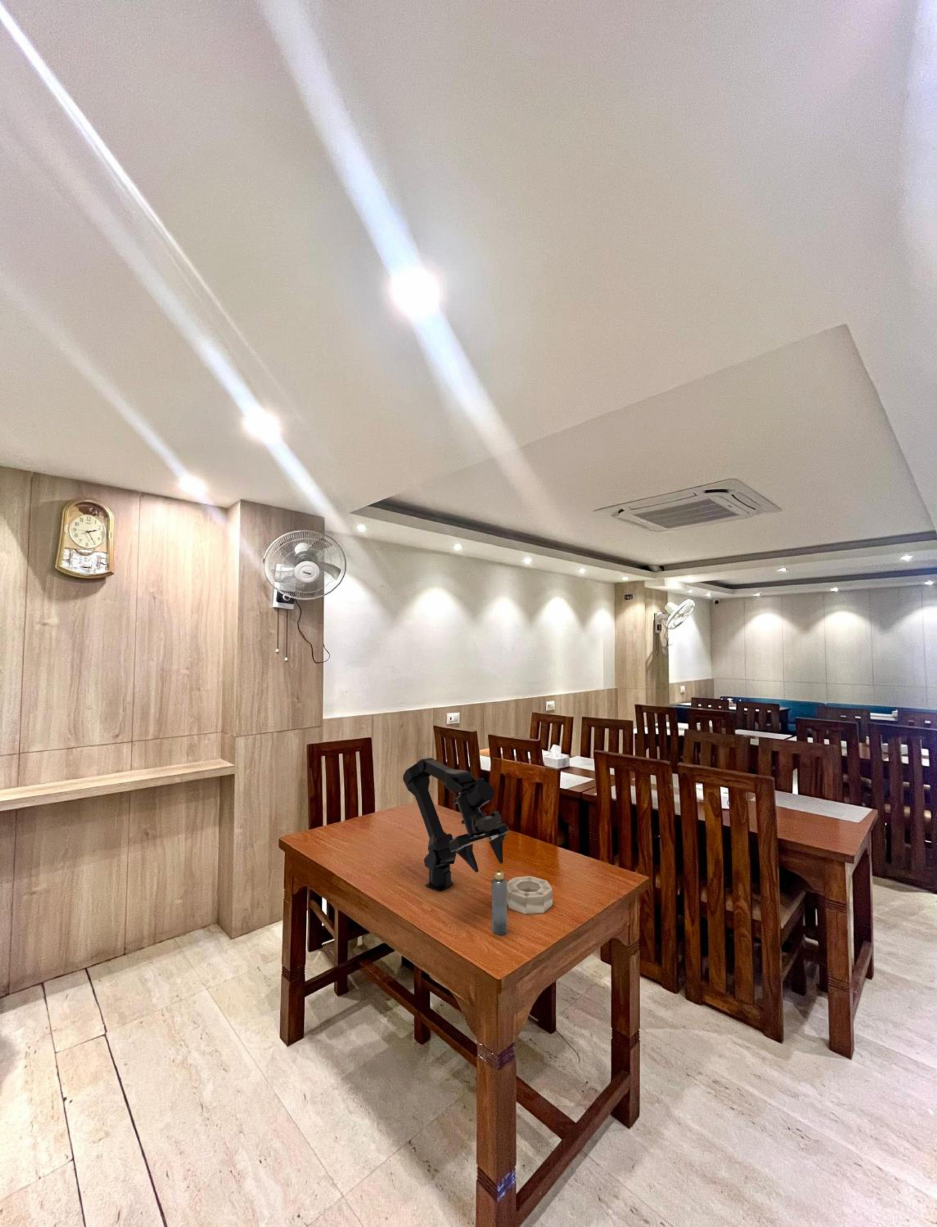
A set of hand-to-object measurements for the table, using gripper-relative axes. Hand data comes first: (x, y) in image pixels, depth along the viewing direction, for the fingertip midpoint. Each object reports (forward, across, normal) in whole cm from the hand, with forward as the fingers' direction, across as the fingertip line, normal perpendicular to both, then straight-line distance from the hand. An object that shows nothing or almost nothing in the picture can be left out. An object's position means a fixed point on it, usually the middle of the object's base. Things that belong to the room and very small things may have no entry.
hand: (489, 867), depth 142 cm
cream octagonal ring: (+12, +14, +6) cm, 19 cm away
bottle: (+15, -3, +1) cm, 15 cm away
